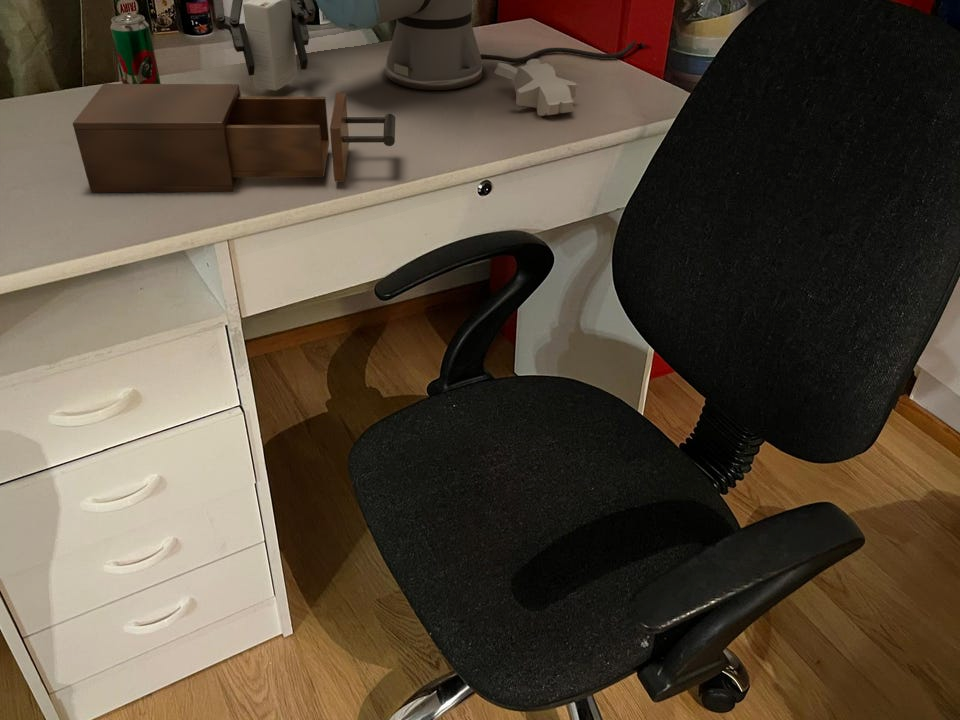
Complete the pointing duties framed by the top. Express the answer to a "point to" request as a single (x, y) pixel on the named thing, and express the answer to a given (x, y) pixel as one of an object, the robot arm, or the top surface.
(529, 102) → the white blocky figurine
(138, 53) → the soda can
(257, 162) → the drawer
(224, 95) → the cabinet
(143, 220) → the top surface
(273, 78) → the cosmetic box
